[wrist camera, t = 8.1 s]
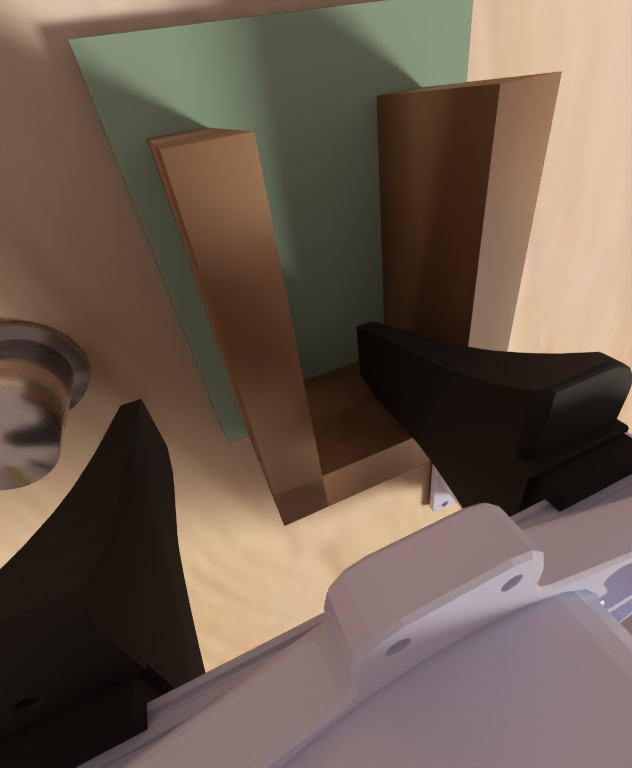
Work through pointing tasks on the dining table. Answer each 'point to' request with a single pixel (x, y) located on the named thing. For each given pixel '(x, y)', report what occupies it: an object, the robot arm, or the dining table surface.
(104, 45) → the green rubber mat
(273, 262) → the walnut C-link
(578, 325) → the dining table surface
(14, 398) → the metal door knob
